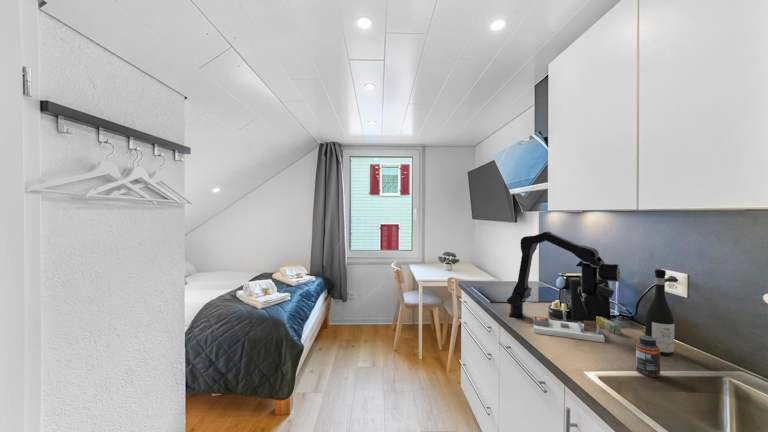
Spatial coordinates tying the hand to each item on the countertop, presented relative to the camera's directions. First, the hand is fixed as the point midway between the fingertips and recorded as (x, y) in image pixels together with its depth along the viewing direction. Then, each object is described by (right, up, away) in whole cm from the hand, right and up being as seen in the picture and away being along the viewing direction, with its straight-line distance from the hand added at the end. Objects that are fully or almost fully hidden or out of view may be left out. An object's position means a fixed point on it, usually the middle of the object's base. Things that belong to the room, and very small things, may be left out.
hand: (589, 315), depth 137 cm
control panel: (-9, -8, +2) cm, 12 cm away
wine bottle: (+14, -8, -18) cm, 24 cm away
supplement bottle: (-3, -8, -34) cm, 35 cm away
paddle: (-2, -5, -3) cm, 7 cm away
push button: (-17, -5, +6) cm, 19 cm away
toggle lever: (-9, -3, +2) cm, 10 cm away
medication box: (+11, -8, +4) cm, 14 cm away
